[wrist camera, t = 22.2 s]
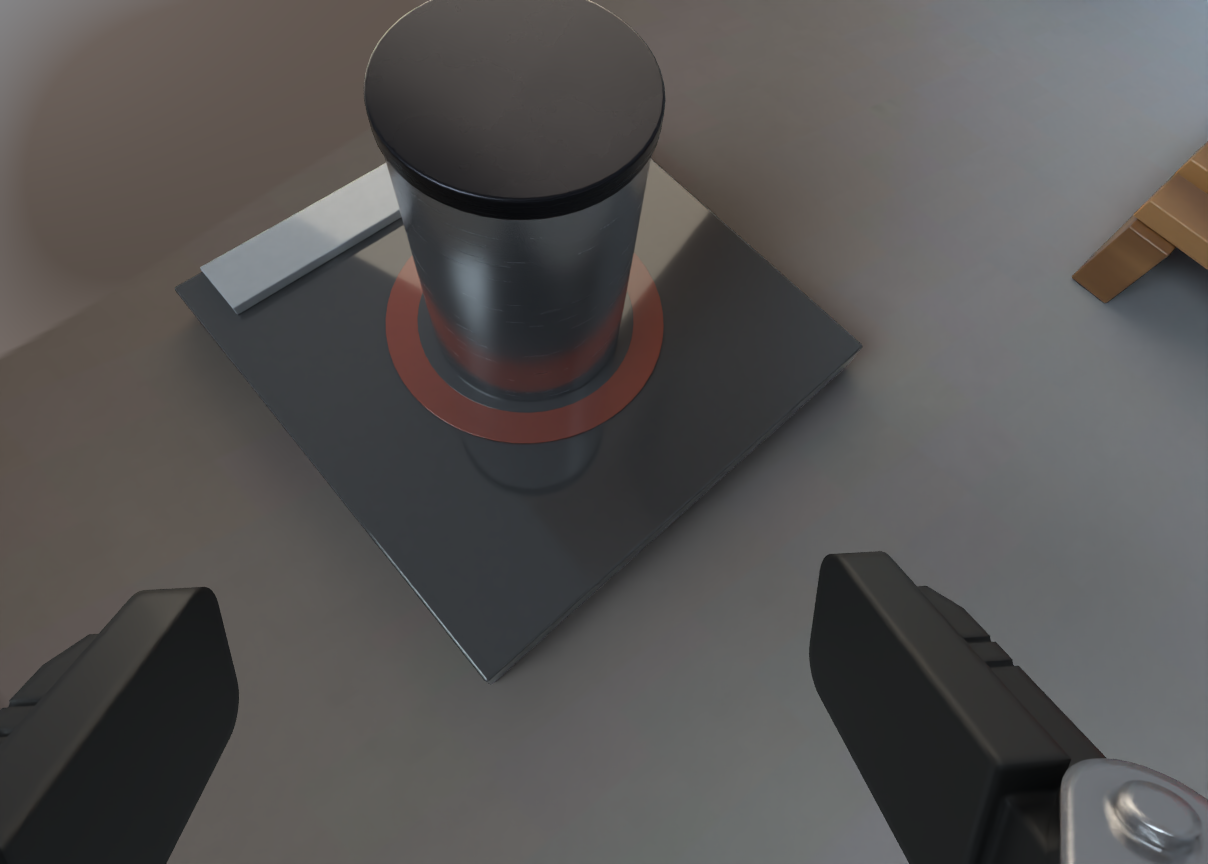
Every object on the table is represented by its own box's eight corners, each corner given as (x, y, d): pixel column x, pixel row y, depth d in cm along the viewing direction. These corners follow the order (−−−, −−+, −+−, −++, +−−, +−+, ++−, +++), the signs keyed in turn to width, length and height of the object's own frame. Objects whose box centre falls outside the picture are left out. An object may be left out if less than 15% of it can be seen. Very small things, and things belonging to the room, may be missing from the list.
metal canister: (539, 212, 24) (536, -54, 16) (661, 330, 23) (726, 103, 15) (391, 307, 22) (301, 60, 14) (514, 442, 21) (492, 255, 13)
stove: (553, 103, 29) (554, 62, 27) (847, 366, 25) (869, 339, 23) (194, 312, 24) (166, 279, 22) (491, 686, 20) (485, 682, 18)
